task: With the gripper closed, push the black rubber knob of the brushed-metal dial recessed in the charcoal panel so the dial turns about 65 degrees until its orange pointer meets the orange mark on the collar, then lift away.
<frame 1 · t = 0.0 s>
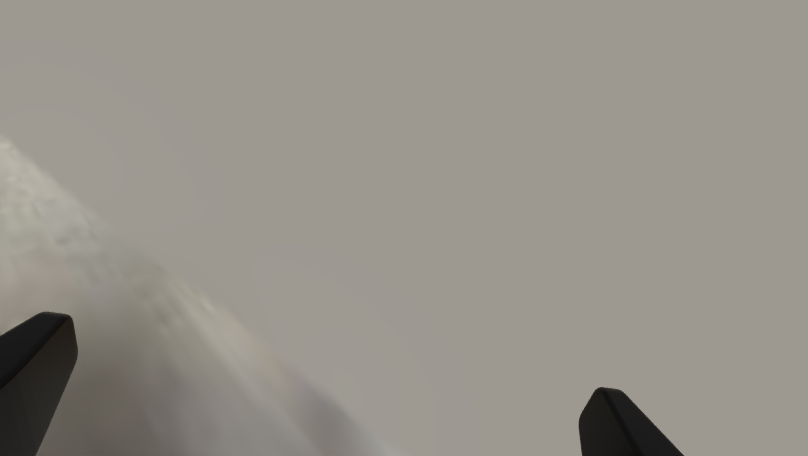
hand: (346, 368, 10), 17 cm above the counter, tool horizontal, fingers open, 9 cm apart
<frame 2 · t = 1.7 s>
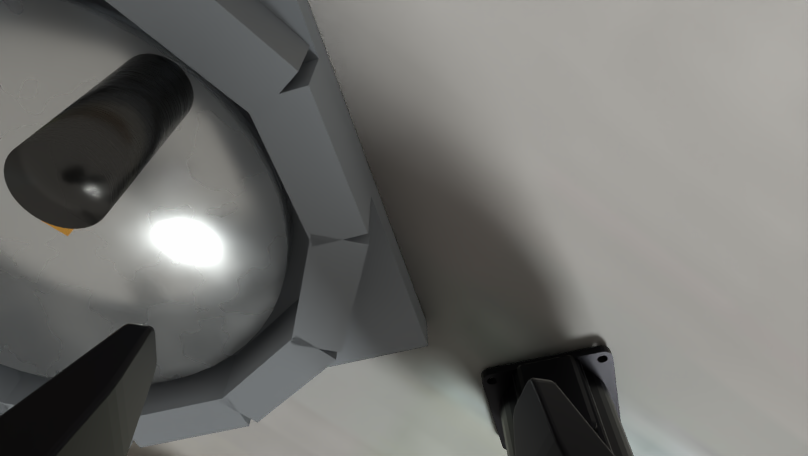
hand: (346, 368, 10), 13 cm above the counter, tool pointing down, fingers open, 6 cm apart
panel: (91, 188, 23), on the counter
dial: (17, 270, 18), point 5 cm above the counter, hinge at 0.0°
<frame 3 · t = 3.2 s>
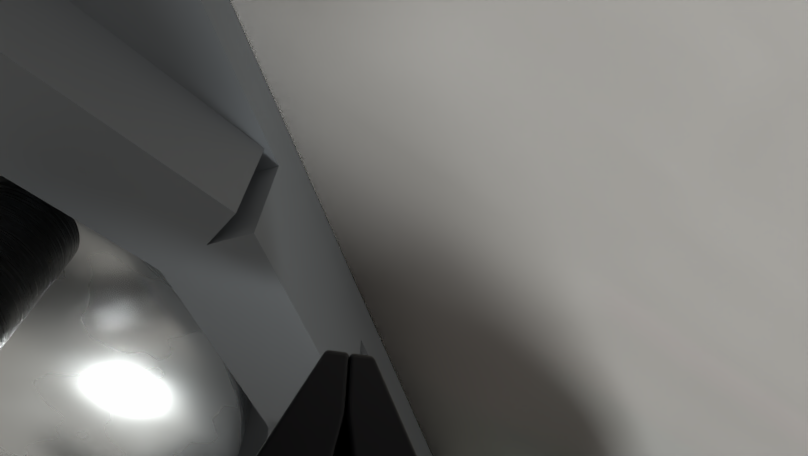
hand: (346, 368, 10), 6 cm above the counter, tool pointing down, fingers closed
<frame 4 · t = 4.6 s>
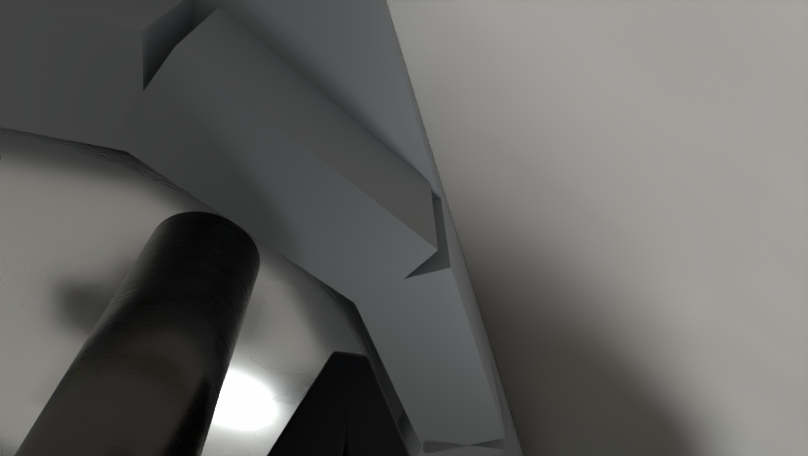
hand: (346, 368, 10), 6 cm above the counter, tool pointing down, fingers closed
panel: (106, 340, 17), on the counter
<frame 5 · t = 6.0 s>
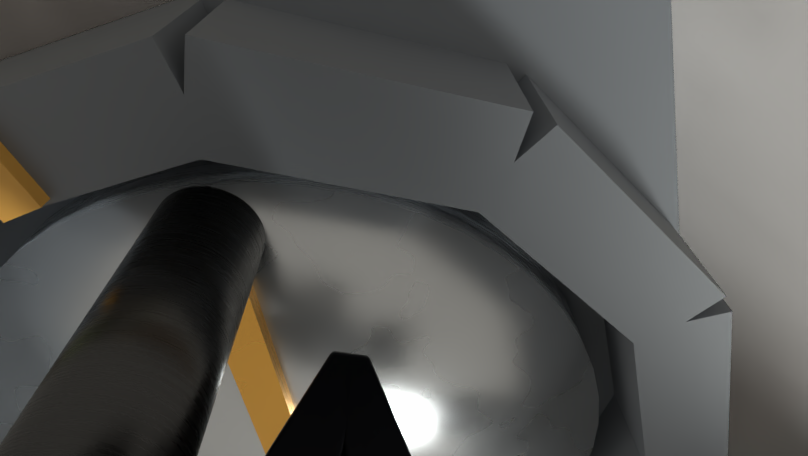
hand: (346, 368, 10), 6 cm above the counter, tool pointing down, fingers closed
panel: (305, 367, 18), on the counter
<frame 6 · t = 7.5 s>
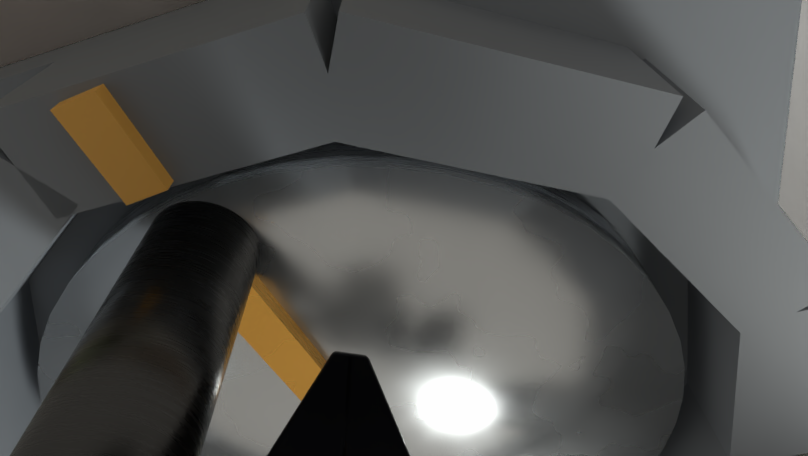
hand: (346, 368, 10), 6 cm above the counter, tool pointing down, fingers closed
panel: (371, 353, 18), on the counter
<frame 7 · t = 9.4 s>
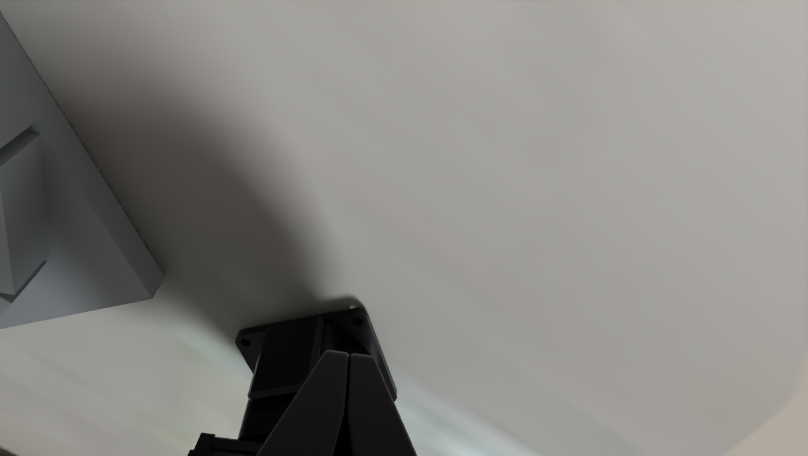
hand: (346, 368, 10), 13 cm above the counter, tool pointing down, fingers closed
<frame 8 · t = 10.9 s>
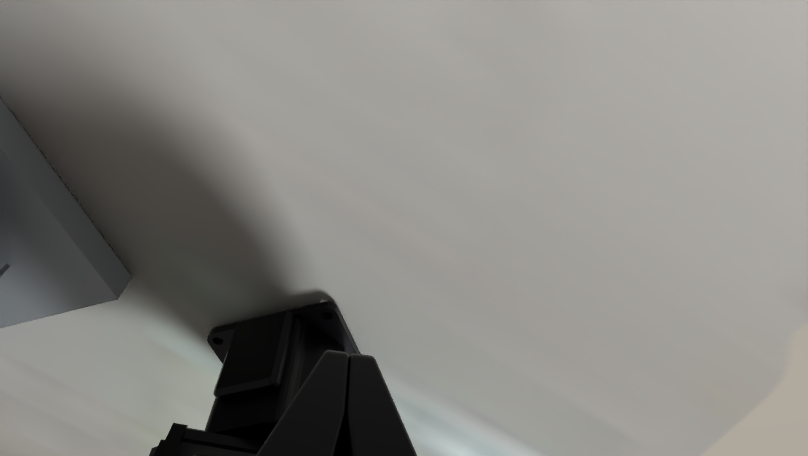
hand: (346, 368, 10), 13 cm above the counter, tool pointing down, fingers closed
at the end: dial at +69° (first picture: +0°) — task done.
